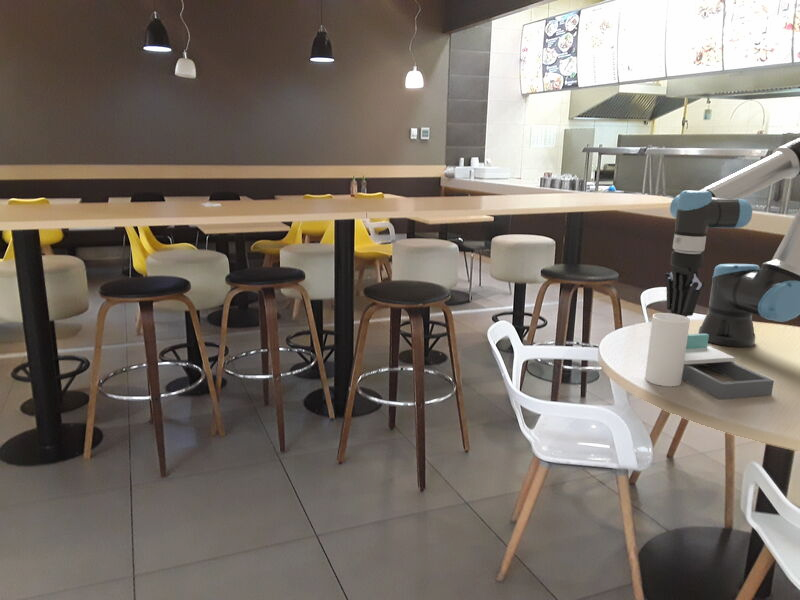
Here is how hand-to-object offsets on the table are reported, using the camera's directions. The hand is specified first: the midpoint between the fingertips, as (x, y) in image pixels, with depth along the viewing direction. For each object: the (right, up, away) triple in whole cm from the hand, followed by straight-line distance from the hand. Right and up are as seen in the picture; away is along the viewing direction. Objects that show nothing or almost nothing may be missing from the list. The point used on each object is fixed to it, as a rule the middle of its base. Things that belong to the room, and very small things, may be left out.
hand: (675, 338), depth 166 cm
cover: (+2, -4, -8) cm, 9 cm away
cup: (-9, -10, -14) cm, 19 cm away
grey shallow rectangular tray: (+3, -9, -13) cm, 16 cm away
